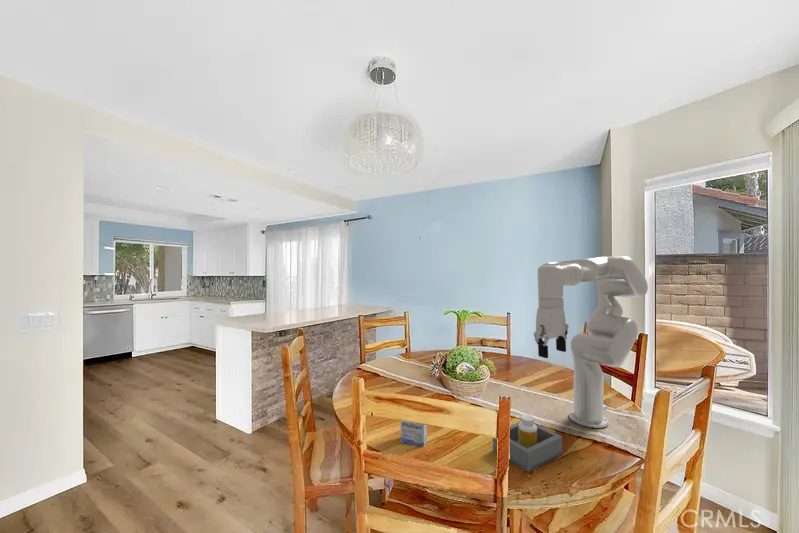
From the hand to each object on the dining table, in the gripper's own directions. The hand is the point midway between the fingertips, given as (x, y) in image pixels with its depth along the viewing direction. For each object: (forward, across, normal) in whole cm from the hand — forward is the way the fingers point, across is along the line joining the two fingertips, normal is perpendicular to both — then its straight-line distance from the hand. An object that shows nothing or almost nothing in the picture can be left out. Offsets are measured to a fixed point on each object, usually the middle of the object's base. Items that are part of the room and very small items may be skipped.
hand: (552, 353), depth 110 cm
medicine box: (+26, +41, -23) cm, 54 cm away
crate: (+27, +16, +1) cm, 31 cm away
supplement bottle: (+26, +15, +1) cm, 31 cm away
